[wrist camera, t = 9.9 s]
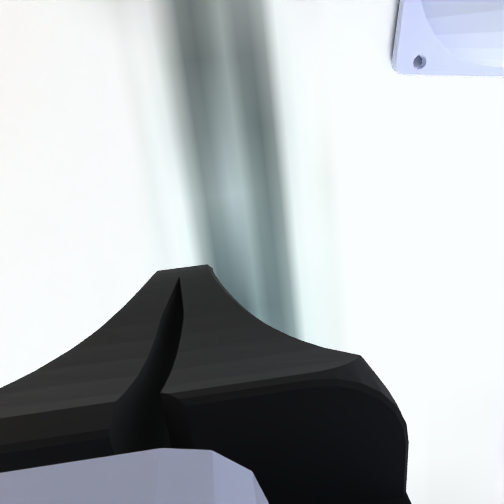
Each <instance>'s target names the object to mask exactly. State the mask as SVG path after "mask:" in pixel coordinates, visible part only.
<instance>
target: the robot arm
mask: <svg viewBox="0 0 504 504" xmlns="http://www.w3.org/2000/svg"><path fill="white" fill-rule="evenodd" d="M418 55H419V56H420V57H421V58H422V63H421V66H420V67H419V68H417V69H416V68H415V67H414V65H413V61H414V59H415V58H416V57H417V56H418ZM392 67H393V69H394V71H395V72H396V73H397V74H400V75H407V76H450V77H493V78H504V0H400V4H399V12H398V19H397V27H396V34H395V42H394V49H393V57H392ZM408 444H409V441H408V433H407V425H406V422H405V420H404V418H403V416H402V414H401V412H400V410H399V408H398V406H397V404H396V402H395V400H394V399H393V397H392V396H391V394H390V392H389V391H388V389H387V388H386V387H385V385H384V384H383V383H382V381H381V380H380V379H379V378H378V376H377V375H376V374H375V372H374V371H373V370H372V369H371V367H370V366H369V365H368V364H367V362H366V361H365V360H364V359H363V358H362V357H361V356H360V355H356V354H351V353H347V352H342V351H337V350H332V349H327V348H323V347H320V346H317V345H313V344H310V343H307V342H304V341H301V340H299V339H296V338H294V337H291V336H289V335H287V334H285V333H282V332H280V331H278V330H276V329H274V328H272V327H270V326H269V325H267V324H265V323H263V322H262V321H260V320H259V319H257V318H256V317H255V316H253V315H252V314H251V313H250V312H248V311H247V310H246V309H245V308H244V307H243V306H241V305H240V304H239V303H238V302H237V301H236V300H235V299H234V298H233V297H232V296H231V295H230V293H229V292H228V291H227V290H226V289H225V288H224V287H223V285H222V284H221V283H220V281H219V280H218V279H217V277H216V276H215V274H214V272H213V269H212V268H211V267H210V266H209V265H199V266H192V267H184V268H176V269H169V270H161V271H157V272H156V273H155V274H154V275H153V276H152V277H151V278H150V279H149V280H148V282H147V283H146V284H145V285H144V286H143V287H142V288H141V289H140V290H139V291H138V292H137V293H136V295H135V296H134V297H133V298H132V299H131V300H130V301H129V302H128V303H127V304H126V305H125V306H124V307H123V308H122V309H121V310H119V311H118V312H117V313H116V314H115V315H114V316H113V317H112V318H111V319H110V320H109V321H108V322H106V323H105V324H104V325H103V326H102V327H101V328H99V329H98V330H97V331H96V332H94V333H93V334H92V335H91V336H89V337H88V338H86V339H85V340H84V341H82V342H81V343H80V344H78V345H77V346H75V347H74V348H72V349H71V350H69V351H68V352H66V353H64V354H63V355H61V356H59V357H58V358H56V359H54V360H53V361H51V362H49V363H48V364H46V365H44V366H43V367H41V368H39V369H38V370H36V371H34V372H32V373H30V374H28V375H26V376H24V377H22V378H20V379H18V380H16V381H15V382H12V383H10V384H8V385H6V386H4V387H2V388H0V504H411V502H410V500H409V497H408V495H407V493H406V481H407V463H408Z"/></svg>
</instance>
